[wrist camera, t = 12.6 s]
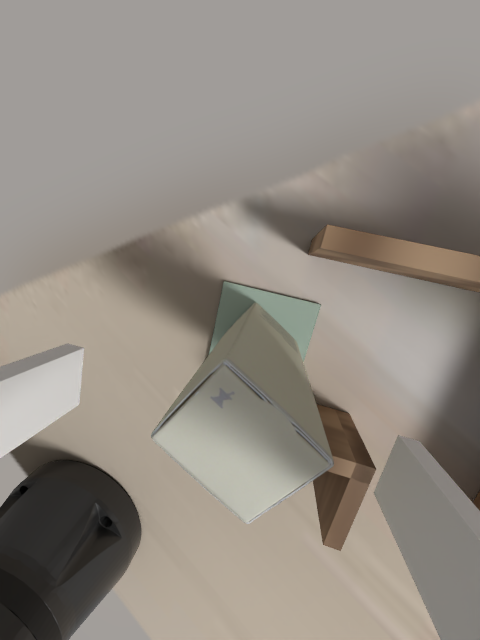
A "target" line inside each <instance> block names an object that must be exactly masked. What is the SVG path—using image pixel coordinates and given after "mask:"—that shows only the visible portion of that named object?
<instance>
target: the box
mask: <svg viewBox="0 0 480 640" xmlns="http://www.w3.org/2000/svg"><path fill="white" fill-rule="evenodd" d="M151 438H152V439H153V441H154V442H155V443H156V444H157V445H158V446H160V447H161V448H162V449H163V450H164V451H165V452H166V453H167V454H168V455H169V456H170V457H171V458H172V459H173V460H174V461H175V462H177V463H178V464H179V465H180V466H181V467H182V468H183V469H184V470H185V471H186V472H187V473H188V474H190V475H191V476H192V477H193V478H194V479H195V480H196V481H197V482H198V483H199V484H200V485H202V486H203V487H204V488H205V489H206V490H207V491H208V492H209V493H210V494H212V495H213V496H214V497H215V498H216V499H217V500H218V501H219V502H221V503H222V504H223V505H224V506H225V507H227V508H228V509H229V510H230V511H231V512H232V513H234V514H235V515H236V516H237V517H238V518H239V519H241V520H242V521H243V522H244V523H247V524H248V523H251V522H252V521H254V520H255V519H256V518H258V517H259V516H261V515H262V514H264V513H265V512H267V511H268V510H270V509H271V508H273V507H274V506H276V505H278V504H279V503H281V502H282V501H283V500H285V499H286V498H288V497H290V496H291V495H293V494H294V493H296V492H297V491H299V490H300V489H302V488H303V487H305V486H306V485H307V484H309V483H310V482H312V481H313V480H315V479H316V478H317V477H319V476H320V475H322V474H323V473H325V472H326V471H327V470H329V469H330V468H332V467H333V466H334V460H333V457H332V454H331V450H330V447H329V444H328V440H327V437H326V434H325V431H324V428H323V424H322V421H321V418H320V414H319V411H318V408H317V405H316V402H315V399H314V395H313V392H312V389H311V386H310V382H309V379H308V376H307V373H306V370H305V367H304V363H303V360H302V357H301V354H300V351H299V347H298V344H297V342H296V340H295V339H294V338H293V337H292V336H291V335H290V334H289V333H288V332H287V331H286V330H285V329H284V328H283V327H282V326H281V325H280V324H279V323H278V322H277V321H276V320H275V319H274V318H273V317H272V316H271V315H270V314H269V313H268V312H266V311H265V310H264V309H263V308H262V307H261V306H260V305H259V304H258V303H256V302H255V303H254V304H253V305H252V306H251V307H250V308H249V309H248V310H247V311H246V312H245V313H244V314H243V315H242V316H241V317H240V318H239V319H238V320H237V321H236V322H235V323H234V324H233V325H232V326H231V327H230V328H229V329H228V331H227V332H226V333H225V334H224V335H223V336H222V338H221V339H220V341H219V342H218V343H217V345H216V346H215V348H214V349H213V350H212V352H211V353H210V354H209V355H208V357H207V358H206V360H205V361H204V362H203V364H202V365H201V366H200V368H199V369H198V370H197V372H196V373H195V374H194V376H193V377H192V379H191V380H190V381H189V383H188V384H187V385H186V387H185V388H184V389H183V391H182V392H181V393H180V395H179V396H178V398H177V399H176V400H175V402H174V403H173V404H172V406H171V407H170V409H169V410H168V411H167V413H166V414H165V416H164V417H163V418H162V420H161V421H160V422H159V424H158V425H157V427H156V428H155V429H154V431H153V432H152V434H151Z"/></svg>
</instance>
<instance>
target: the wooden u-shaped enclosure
mask: <svg viewBox="0 0 480 640" xmlns="http://www.w3.org/2000/svg"><path fill="white" fill-rule="evenodd" d="M308 255H312V256H317V257H321V258H326V259H330V260H335V261H339V262H344V263H348V264H353V265H357V266H362V267H367V268H371V269H376V270H380V271H385V272H389V273H394V274H398V275H403V276H407V277H412V278H416V279H421V280H425V281H430V282H434V283H439V284H444V285H448V286H453V287H457V288H462V289H466V290H471V291H475V292H480V256H478V255H473V254H468V253H463V252H459V251H454V250H449V249H444V248H439V247H434V246H429V245H425V244H420V243H415V242H410V241H405V240H400V239H395V238H391V237H386V236H381V235H376V234H371V233H366V232H361V231H356V230H352V229H347V228H342V227H337V226H332V225H326V226H325V227H324V228H323V229H322V230H321V231H320V232H319V233H318V234H317V235H316V236H315V237H314V238H313V239H312V242H311V246H310V249H309V253H308ZM316 405H317V408H318V411H319V414H320V418H321V421H322V424H323V428H324V431H325V434H326V437H327V440H328V444H329V447H330V450H331V454H332V457H333V460H334V466H333V467H332V468H330V469H329V470H327V471H326V472H325V473H323V474H322V475H320V476H319V477H317V478H316V479H315V480H313V484H314V490H315V497H316V503H317V509H318V516H319V522H320V528H321V535H322V541H323V545H325V546H328V547H331V548H334V549H337V550H340V551H341V549H342V546H343V544H344V542H345V540H346V537H347V535H348V533H349V530H350V528H351V526H352V523H353V521H354V519H355V517H356V514H357V512H358V510H359V507H360V505H361V503H362V500H363V498H364V496H365V494H366V491H367V489H368V487H369V484H370V482H371V480H372V477H373V475H374V473H375V471H376V468H375V466H374V464H373V462H372V460H371V457H370V455H369V453H368V451H367V449H366V447H365V445H364V443H363V441H362V439H361V437H360V435H359V433H358V431H357V429H356V426H355V424H354V422H353V420H352V418H351V416H350V414H349V413H346V412H342V411H339V410H335V409H332V408H328V407H325V406H321V405H318V404H316ZM473 504H474V505H475V506H476V507H477V508H478V509H479V511H480V491H479V493H478V494H477V496H476V498H475V500H474V501H473Z"/></svg>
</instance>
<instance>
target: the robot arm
mask: <svg viewBox="0 0 480 640" xmlns="http://www.w3.org/2000/svg"><path fill="white" fill-rule="evenodd" d="M83 355H84V348H83V347H79V346H75V345H72V344H65V345H62V346H59V347H56V348H53V349H50V350H48V351H45V352H42V353H39V354H36V355H33V356H30V357H27V358H24V359H22V360H19V361H16V362H13V363H10V364H7V365H4V366H1V367H0V458H2V457H3V456H4V455H6V454H7V453H9V452H10V451H12V450H13V449H15V448H16V447H18V446H19V445H21V444H22V443H24V442H25V441H27V440H28V439H29V438H31V437H32V436H34V435H35V434H37V433H38V432H40V431H41V430H43V429H44V428H46V427H47V426H48V425H50V424H51V423H53V422H54V421H56V420H57V419H59V418H60V417H62V416H63V415H65V414H66V413H68V412H69V411H70V410H72V409H73V408H75V407H76V406H78V405H79V402H80V390H81V379H82V367H83ZM374 494H375V497H376V499H377V501H378V503H379V505H380V507H381V510H382V512H383V514H384V516H385V518H386V521H387V523H388V525H389V527H390V529H391V532H392V534H393V536H394V538H395V540H396V543H397V545H398V547H399V549H400V551H401V553H402V556H403V558H404V560H405V562H406V564H407V567H408V569H409V571H410V573H411V575H412V578H413V580H414V582H415V584H416V586H417V589H418V591H419V593H420V595H421V597H422V600H423V602H424V604H425V606H426V608H427V610H428V613H429V615H430V617H431V619H432V621H433V624H434V626H435V628H436V630H437V632H438V635H439V637H440V639H441V640H480V511H479V509H478V508H477V507H476V506H475V505H474V504H473V503H472V501H471V500H470V499H469V498H468V497H467V496H466V494H465V493H464V492H463V491H462V490H461V489H460V488H459V486H458V485H457V484H456V483H455V482H454V481H453V479H452V478H451V477H450V476H449V475H448V474H447V473H446V471H445V470H444V469H443V468H442V467H441V466H440V464H439V463H438V462H437V461H436V460H435V459H434V457H433V456H432V455H431V454H430V453H429V452H428V451H427V449H426V448H425V447H424V446H423V445H422V444H421V442H420V441H418V440H414V439H411V438H407V437H403V436H400V435H398V437H397V440H396V442H395V444H394V447H393V449H392V451H391V454H390V456H389V458H388V461H387V463H386V465H385V468H384V470H383V472H382V475H381V477H380V479H379V482H378V484H377V486H376V489H375V491H374ZM140 540H141V524H140V519H139V516H138V513H137V510H136V508H135V506H134V504H133V503H132V501H131V499H130V498H129V496H128V495H127V494H126V492H125V491H124V490H123V489H122V488H121V487H120V486H119V485H118V484H117V483H116V482H115V481H114V480H113V479H111V478H110V477H109V476H107V475H106V474H104V473H103V472H101V471H100V470H98V469H96V468H94V467H91V466H89V465H86V464H83V463H80V462H75V461H67V460H61V461H53V462H50V463H47V464H44V465H43V466H41V467H39V468H38V469H37V470H36V471H34V472H33V473H32V474H31V475H29V476H28V477H27V478H26V479H25V480H24V481H22V482H21V483H20V484H19V485H18V486H17V487H16V488H15V489H14V490H13V491H12V493H11V494H10V495H9V497H8V498H7V499H6V501H5V502H4V503H3V505H2V506H1V507H0V640H69V639H70V637H71V636H72V635H73V634H74V632H75V631H76V630H77V629H78V628H79V627H80V625H81V624H82V623H83V622H84V621H85V620H86V618H87V617H88V616H89V615H90V613H91V612H92V611H93V610H94V609H95V608H96V607H97V605H98V604H99V603H100V602H101V601H102V600H103V598H104V597H105V596H106V595H107V594H108V593H109V591H110V590H111V589H112V588H113V587H114V585H115V584H116V583H117V582H118V581H119V580H120V578H121V577H122V576H123V574H124V573H125V571H126V570H127V568H128V566H129V564H130V562H131V560H132V558H133V557H134V555H135V553H136V551H137V549H138V546H139V544H140Z"/></svg>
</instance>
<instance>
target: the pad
mask: <svg viewBox="0 0 480 640" xmlns="http://www.w3.org/2000/svg"><path fill="white" fill-rule="evenodd" d="M255 302H256V303H258V304H259V305H260V306H261V307H262V308H263V309H264V310H265V311H266V312H268V313H269V314H270V315H271V316H272V317H273V318H274V319H275V320H276V321H277V322H278V323H279V324H280V325H281V326H282V327H283V328H284V329H285V330H286V331H287V332H288V333H289V334H290V335H291V336H292V337H293V338H294V339H295V340H296V342H297V344H298V347H299V351H300V354H301V357H302V360H303V362H304V358H305V355H306V352H307V349H308V345H309V342H310V339H311V336H312V332H313V329H314V326H315V323H316V319H317V316H318V313H319V310H320V306H321V304H317V303H313V302H309V301H305V300H301V299H296V298H292V297H288V296H284V295H280V294H276V293H272V292H267V291H263V290H259V289H255V288H251V287H247V286H243V285H238V284H234V283H230V282H226V281H224V284H223V288H222V293H221V298H220V303H219V308H218V313H217V318H216V322H215V327H214V332H213V337H212V342H211V347H210V352H209V354H210V353H211V352H212V350H213V349H214V348H215V346H216V345H217V343H218V342H219V341H220V339H221V338H222V336H223V335H224V334H225V333H226V332H227V331H228V329H229V328H230V327H231V326H232V325H233V324H234V323H235V322H236V321H237V320H238V319H239V318H240V317H241V316H242V315H243V314H244V313H245V312H246V311H247V310H248V309H249V308H250V307H251V306H252V305H253V304H254V303H255Z"/></svg>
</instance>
